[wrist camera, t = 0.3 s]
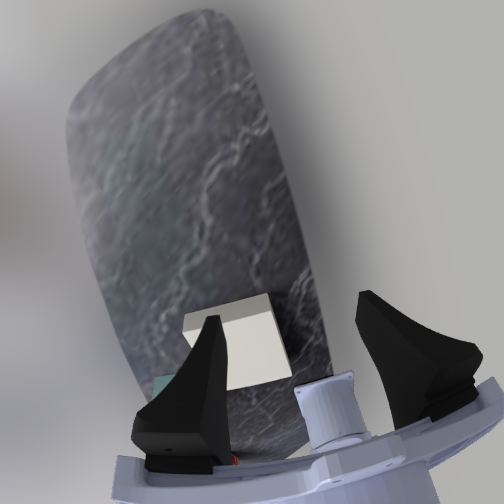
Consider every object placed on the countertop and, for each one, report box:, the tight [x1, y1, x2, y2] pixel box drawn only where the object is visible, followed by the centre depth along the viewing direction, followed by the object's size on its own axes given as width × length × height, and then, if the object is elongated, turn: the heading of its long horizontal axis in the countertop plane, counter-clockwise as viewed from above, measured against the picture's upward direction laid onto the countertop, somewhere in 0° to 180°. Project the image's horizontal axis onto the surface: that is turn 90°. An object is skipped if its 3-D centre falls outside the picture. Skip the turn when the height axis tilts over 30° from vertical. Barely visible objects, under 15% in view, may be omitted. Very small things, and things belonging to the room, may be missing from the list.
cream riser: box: [182, 293, 292, 390], centre depth 27 cm, size 10×8×2 cm
